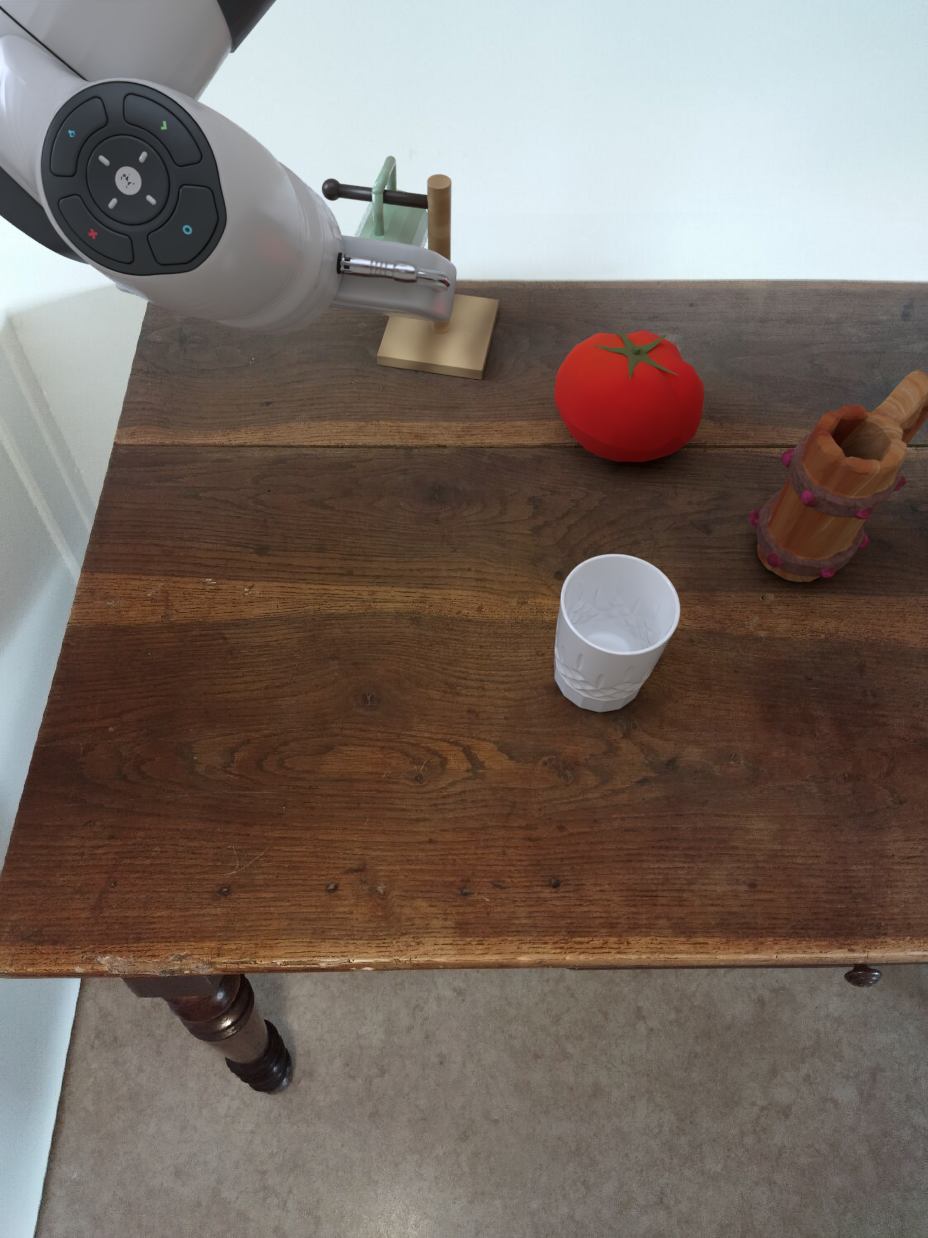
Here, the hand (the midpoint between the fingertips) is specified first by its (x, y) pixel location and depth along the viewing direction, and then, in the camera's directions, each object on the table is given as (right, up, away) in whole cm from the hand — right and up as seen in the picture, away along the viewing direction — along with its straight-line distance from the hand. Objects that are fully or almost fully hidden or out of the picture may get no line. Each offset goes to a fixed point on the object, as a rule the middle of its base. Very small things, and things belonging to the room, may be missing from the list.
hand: (325, 285), depth 63 cm
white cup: (+20, -28, +4) cm, 35 cm away
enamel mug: (+4, +14, +17) cm, 23 cm away
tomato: (+24, -8, +16) cm, 30 cm away
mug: (+39, -17, +11) cm, 44 cm away
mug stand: (+5, +4, +23) cm, 24 cm away
